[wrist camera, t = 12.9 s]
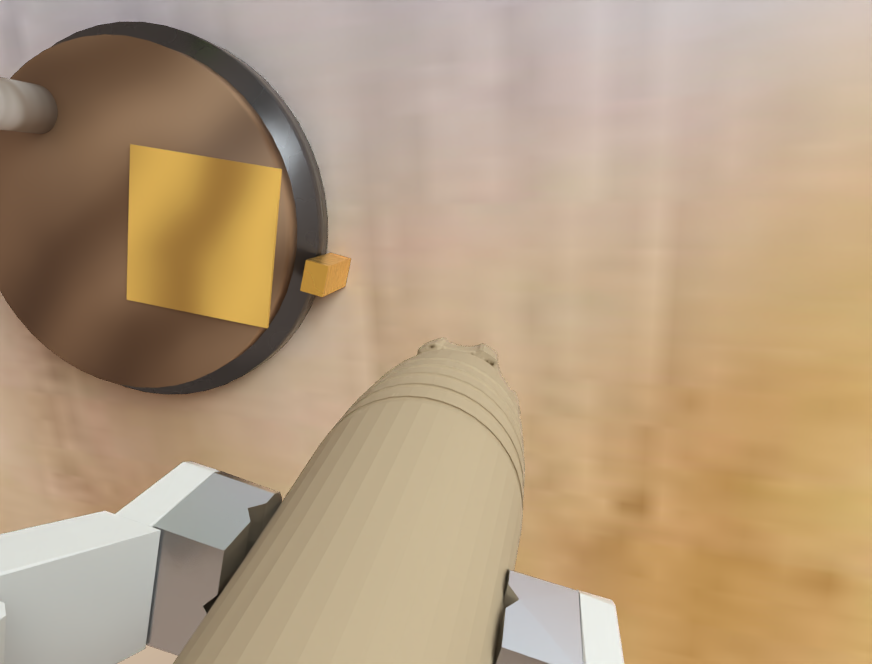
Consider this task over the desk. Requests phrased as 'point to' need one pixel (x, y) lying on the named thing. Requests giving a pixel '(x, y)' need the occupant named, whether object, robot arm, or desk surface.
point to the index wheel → (140, 211)
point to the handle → (388, 530)
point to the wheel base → (311, 261)
